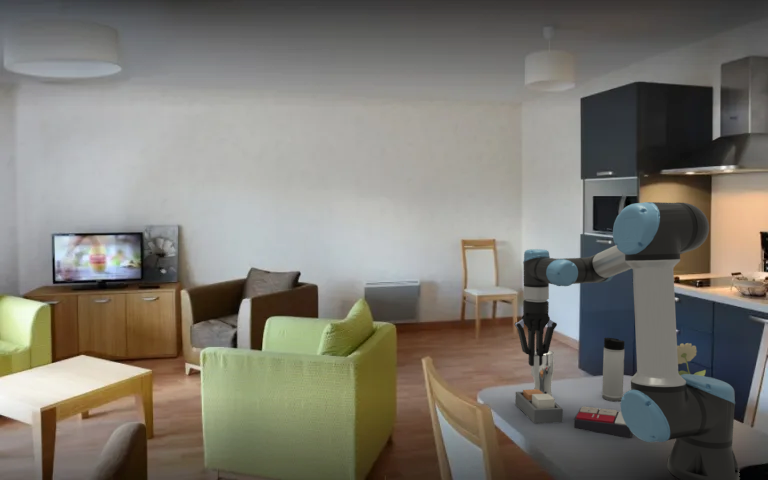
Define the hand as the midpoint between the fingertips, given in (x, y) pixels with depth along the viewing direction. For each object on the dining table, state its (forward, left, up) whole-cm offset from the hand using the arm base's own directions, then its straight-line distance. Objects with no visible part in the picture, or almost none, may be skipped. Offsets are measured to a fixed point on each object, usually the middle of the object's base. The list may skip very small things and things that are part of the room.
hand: (535, 375), depth 186 cm
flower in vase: (-21, -38, -11) cm, 45 cm away
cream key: (-7, 0, -8) cm, 11 cm away
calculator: (-16, -15, -11) cm, 24 cm away
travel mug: (+7, -29, -11) cm, 31 cm away
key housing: (-3, 0, -10) cm, 11 cm away
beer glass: (+10, -7, -11) cm, 16 cm away
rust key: (+1, 0, -9) cm, 9 cm away
